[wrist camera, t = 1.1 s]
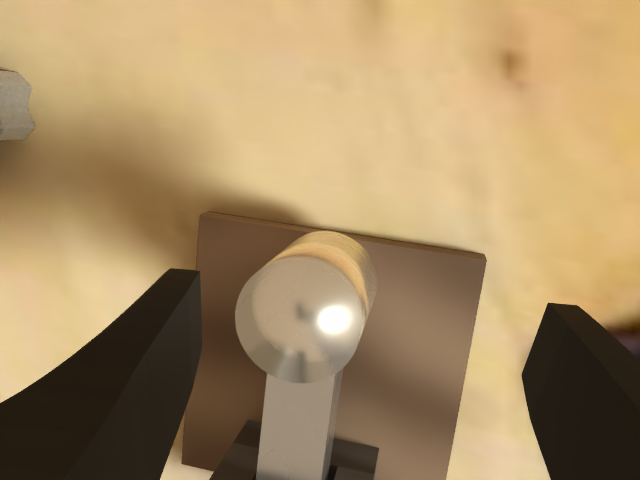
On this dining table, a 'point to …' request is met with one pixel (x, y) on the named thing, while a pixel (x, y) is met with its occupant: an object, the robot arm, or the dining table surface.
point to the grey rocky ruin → (14, 106)
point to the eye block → (358, 374)
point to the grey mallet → (304, 346)
